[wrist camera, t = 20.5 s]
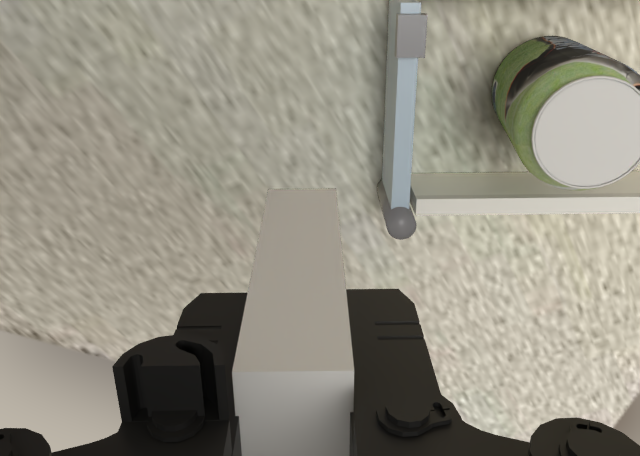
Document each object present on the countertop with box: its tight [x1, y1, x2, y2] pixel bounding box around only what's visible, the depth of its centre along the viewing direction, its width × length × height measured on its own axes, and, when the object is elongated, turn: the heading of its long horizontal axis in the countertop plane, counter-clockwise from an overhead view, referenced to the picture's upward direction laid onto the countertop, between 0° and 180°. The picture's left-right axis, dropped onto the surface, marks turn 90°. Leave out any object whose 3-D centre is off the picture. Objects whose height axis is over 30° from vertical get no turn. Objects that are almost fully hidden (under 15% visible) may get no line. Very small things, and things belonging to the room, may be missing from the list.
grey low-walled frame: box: [410, 171, 640, 216], centre depth 35 cm, size 17×13×5 cm
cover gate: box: [377, 0, 428, 239], centre depth 34 cm, size 12×2×6 cm, turn 0°
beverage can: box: [492, 36, 640, 191], centre depth 31 cm, size 6×7×12 cm
